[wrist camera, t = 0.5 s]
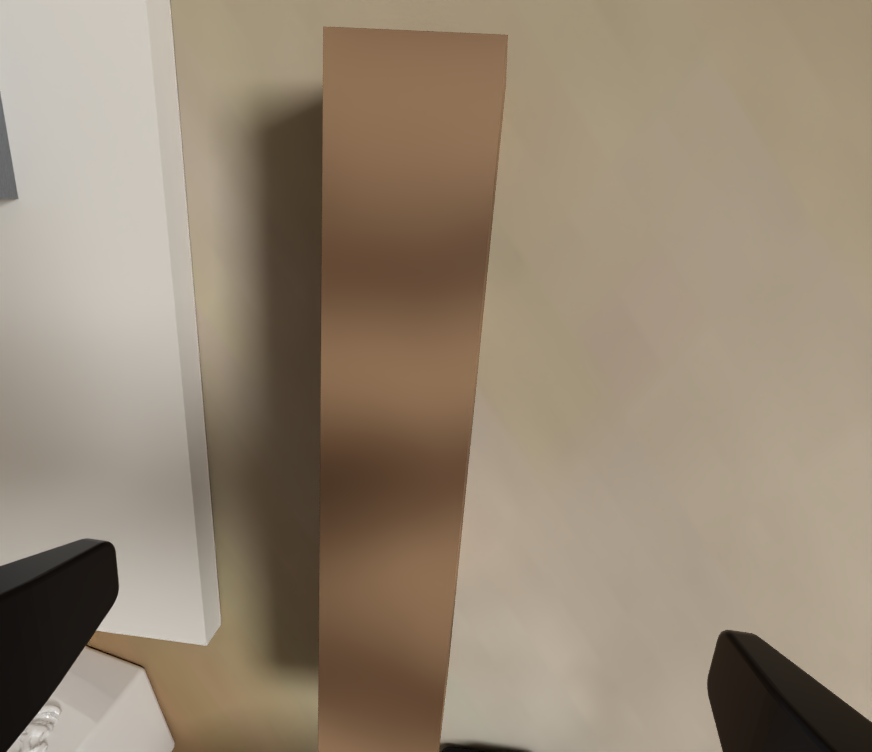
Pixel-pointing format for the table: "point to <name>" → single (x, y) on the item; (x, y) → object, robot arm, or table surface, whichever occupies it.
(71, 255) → the mounting board
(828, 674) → the table surface
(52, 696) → the jar
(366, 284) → the walnut rail
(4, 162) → the bracket
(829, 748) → the robot arm
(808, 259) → the table surface
